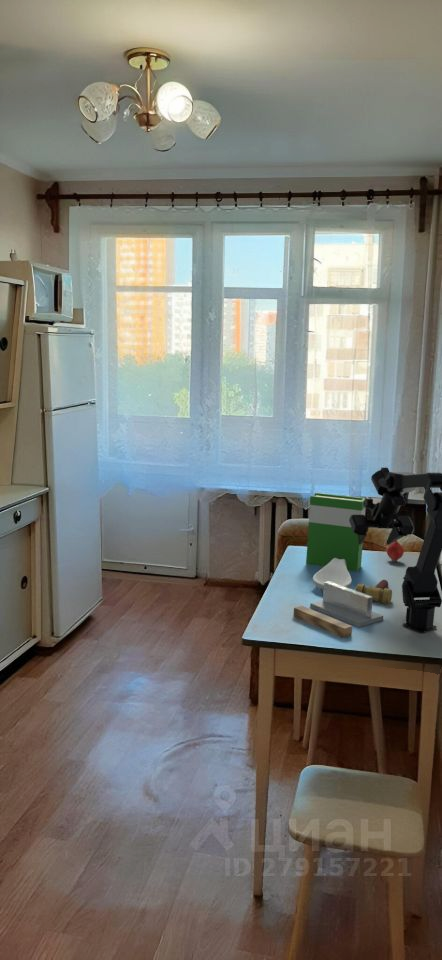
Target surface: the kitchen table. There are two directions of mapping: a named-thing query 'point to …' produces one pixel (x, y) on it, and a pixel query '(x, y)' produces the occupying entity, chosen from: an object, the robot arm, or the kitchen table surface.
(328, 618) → the walnut batten
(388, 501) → the robot arm
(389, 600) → the gavel
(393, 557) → the onion
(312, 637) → the kitchen table surface
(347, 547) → the hardback book
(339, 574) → the spoon rest
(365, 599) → the steel ridge
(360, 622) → the board
